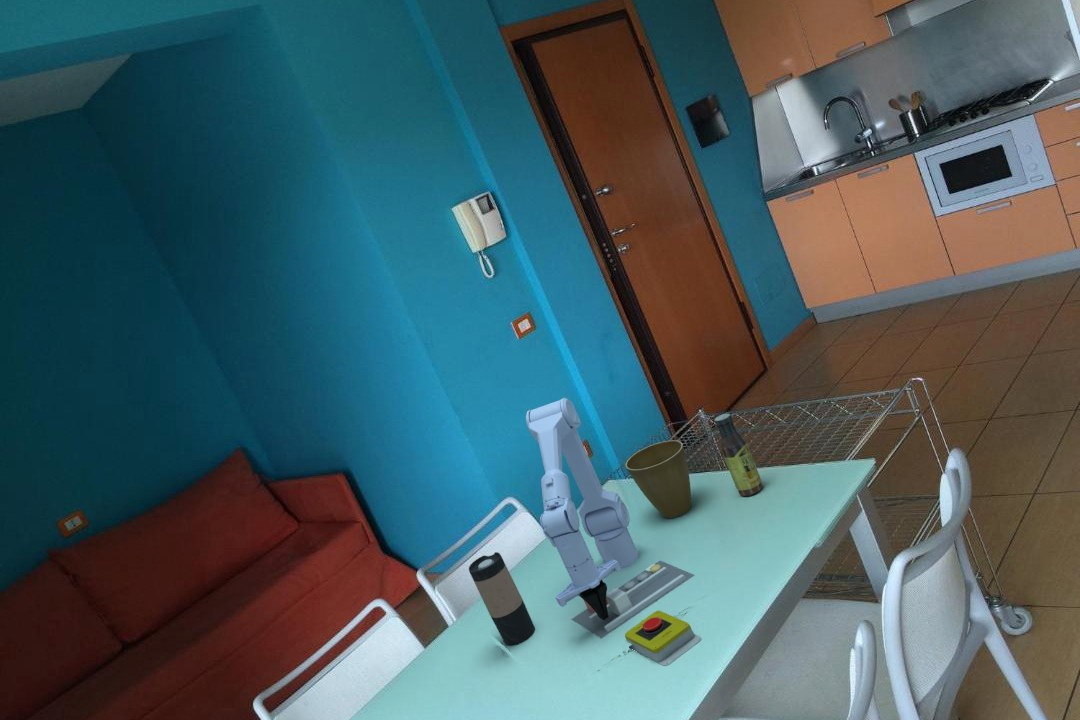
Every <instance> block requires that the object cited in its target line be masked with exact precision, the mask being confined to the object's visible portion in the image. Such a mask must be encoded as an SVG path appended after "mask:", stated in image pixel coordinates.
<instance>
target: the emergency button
mask: <svg viewBox="0 0 1080 720" xmlns="http://www.w3.org/2000/svg"><path fill="white" fill-rule="evenodd" d="M624 638H625V640H626V641H627V642H628V643H630V644H631V645H629V646H628V647H629V648H628V649H630V648H631V649H630V650H632V649H633V650H632V651H634V650H635V652H636V651H637V652H636V653H638V654H639V655H642V656H643V657H646V658H648V659H649V658H650V659H649V660H651V661H653V662H655V663H657V664H659V665H661V666H663V667H667V666H670V665H671V664H672V663H674V662H675V661H676V660H677V659H679V658H680V657H681V656H683V655H685V654H686V653H687V652H688V651H689V650H691V649H692V648H693V647H695V646H696V645H697V644H699V643H700V642H701V641H702V637H701V636H700V635H698V634H696V633H695V632H694V630H693V629H692V627H691V624H690V623H689V622H687V621H684V620H682V619H681V618H678V617H675V616H673V615H672V614H669V613H667V612H663V611H662V610H656V611H654V612H652V613H651V614H650V615H648V616H647V617H645V618H644V619H642V620H640V622H639V623H637V624H636V625H634V626H633V627H632V628H630V629H629V630H628V631H626V632H625V633H624Z"/></svg>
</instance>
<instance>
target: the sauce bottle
mask: <svg viewBox="0 0 1080 720" xmlns="http://www.w3.org/2000/svg"><path fill="white" fill-rule="evenodd" d="M714 423H715V425H716V427H717V429H718V431H719V434H720V436H721V438H720V445H719V446H720V450H721V453H722V455H723V458H724V460H725V463H726V466H727V468H728V471H729V473H730V476H731V479H732V481H733V484H734V485H735V489H736V490H737V491H738V494H739V495H740V496H742V497H749V496H753V495H755V494H757V493H758V492H760V491H761V490H762V489H763V483H762V478H761V476H760V473H759V470H758V468H757V465H756V463H755V461H754V458H753V455H752V453H751V451H750V447H749V446H748V445H749V444H748V443H747V441H746V440H745V439H744V438H743V437H742V435H741V434H740V433H739V431H737V429H736V427H735V424H734V422H733V417H732V415H731V414H730V413H722V414H721V415H718V416H716V417H715V419H714Z"/></svg>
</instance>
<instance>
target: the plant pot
mask: <svg viewBox="0 0 1080 720" xmlns="http://www.w3.org/2000/svg"><path fill="white" fill-rule="evenodd" d="M688 467H689V466H688V462H687V457H686V452H685V449H684V445H683V442H682V441H680V440H676V439H675V440H664V441H660V442H656V443H654V444H651V445H649V446H646V447H644V448H642V449H640V450H638V451H637V452H635V453H633V454H632V456H630V457H629V458H628V459H627V461H626V462H625V468H626V470H627V471H628V473H629V475H630V476H631V477H632V479H633V482H634V483H635V484H636V485H637V487H638V488H639V490H640V491H641V493H642V494H643V495H644V496H645V498H646V499H647V500H648V502H649V503H651V505H652V506H653V507H654V508H655V509H656V511H657V512H659V514H660V515H661V516H662V517H663V518H665V519H674V518H677V517H680V516H683V515H685V514H686V513H687V512H689V510H690V509H691V507H692V498H691V497H692V493H691V491H692V489H691V481H690V473H689V468H688Z"/></svg>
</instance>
